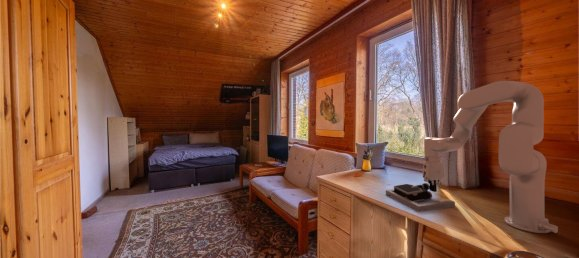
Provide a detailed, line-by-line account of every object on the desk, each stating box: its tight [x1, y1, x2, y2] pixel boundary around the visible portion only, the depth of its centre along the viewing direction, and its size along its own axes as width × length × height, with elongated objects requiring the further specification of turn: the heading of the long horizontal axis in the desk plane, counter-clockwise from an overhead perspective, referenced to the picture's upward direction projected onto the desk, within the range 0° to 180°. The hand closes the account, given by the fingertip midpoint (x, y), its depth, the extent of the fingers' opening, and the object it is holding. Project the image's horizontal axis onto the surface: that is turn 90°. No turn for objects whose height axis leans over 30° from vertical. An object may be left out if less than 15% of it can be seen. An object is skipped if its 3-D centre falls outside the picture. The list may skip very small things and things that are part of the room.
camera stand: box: [385, 188, 456, 212], centre depth 119 cm, size 26×21×2 cm
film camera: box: [393, 182, 433, 203], centre depth 122 cm, size 8×16×15 cm
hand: (433, 191), depth 121 cm, fingers closed
